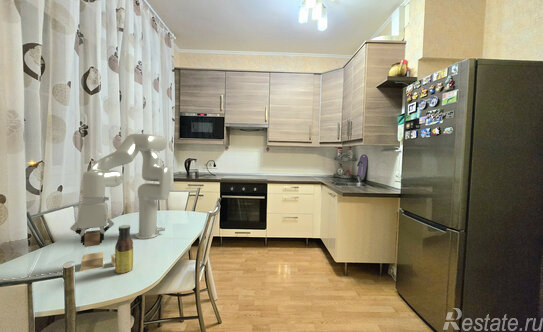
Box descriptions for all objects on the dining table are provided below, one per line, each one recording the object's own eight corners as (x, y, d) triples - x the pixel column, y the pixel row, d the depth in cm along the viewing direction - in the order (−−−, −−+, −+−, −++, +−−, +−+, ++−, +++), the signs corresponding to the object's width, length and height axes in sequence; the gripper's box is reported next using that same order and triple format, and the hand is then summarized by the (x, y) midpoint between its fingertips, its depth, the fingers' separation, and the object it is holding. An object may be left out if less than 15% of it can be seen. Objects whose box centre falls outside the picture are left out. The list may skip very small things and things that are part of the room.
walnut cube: (100, 241, 101) (100, 229, 101) (99, 244, 97) (99, 233, 97) (85, 242, 98) (85, 231, 98) (84, 247, 94) (84, 234, 94)
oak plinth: (103, 260, 103) (103, 251, 103) (102, 267, 97) (102, 257, 97) (83, 263, 99) (83, 254, 99) (81, 271, 93) (81, 261, 93)
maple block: (121, 260, 104) (122, 252, 103) (124, 263, 101) (125, 255, 101) (111, 263, 101) (111, 254, 100) (114, 267, 98) (114, 257, 98)
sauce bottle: (120, 269, 98) (121, 223, 97) (135, 269, 99) (136, 223, 98) (111, 277, 92) (112, 228, 91) (127, 277, 92) (128, 228, 91)
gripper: (117, 198, 105) (116, 237, 105) (68, 200, 95) (67, 243, 96) (118, 200, 99) (116, 242, 99) (65, 203, 89) (64, 250, 90)
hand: (92, 242), depth 98 cm, fingers closed on walnut cube, 5 cm apart
